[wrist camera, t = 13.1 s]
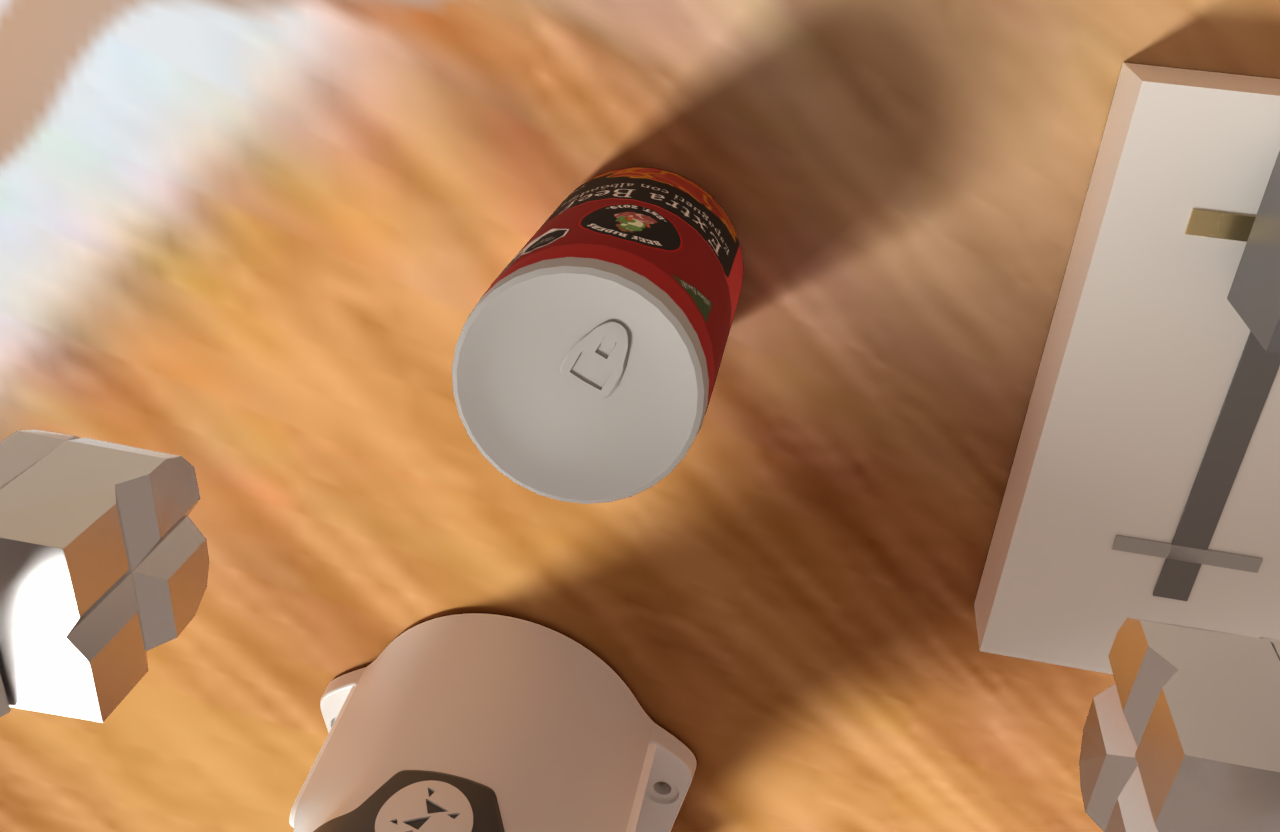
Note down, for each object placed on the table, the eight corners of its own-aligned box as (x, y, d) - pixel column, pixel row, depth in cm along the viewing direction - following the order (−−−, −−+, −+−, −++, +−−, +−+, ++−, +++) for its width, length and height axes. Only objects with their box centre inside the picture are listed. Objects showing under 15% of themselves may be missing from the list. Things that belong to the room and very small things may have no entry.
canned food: (772, 193, 39) (738, 309, 30) (713, 382, 43) (666, 538, 34) (569, 133, 40) (472, 229, 30) (529, 326, 44) (431, 465, 34)
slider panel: (1277, 656, 44) (1303, 710, 42) (974, 604, 46) (980, 652, 43) (1529, 105, 34) (1585, 129, 31) (1123, 62, 35) (1143, 81, 33)
